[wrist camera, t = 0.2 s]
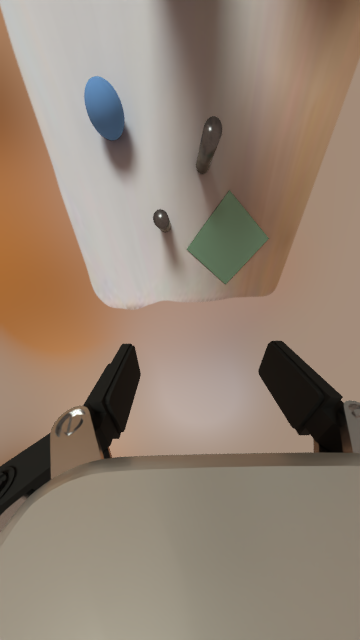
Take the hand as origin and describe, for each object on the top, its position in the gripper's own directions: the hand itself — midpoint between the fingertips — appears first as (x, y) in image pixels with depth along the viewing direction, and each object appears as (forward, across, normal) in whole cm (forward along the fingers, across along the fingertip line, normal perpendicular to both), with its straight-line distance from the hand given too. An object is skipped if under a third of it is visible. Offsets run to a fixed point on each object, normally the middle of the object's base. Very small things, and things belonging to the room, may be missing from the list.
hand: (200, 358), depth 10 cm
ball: (+28, +13, -26) cm, 41 cm away
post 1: (+31, +4, -11) cm, 33 cm away
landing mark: (+31, -10, -7) cm, 34 cm away
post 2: (+31, -4, -21) cm, 38 cm away
